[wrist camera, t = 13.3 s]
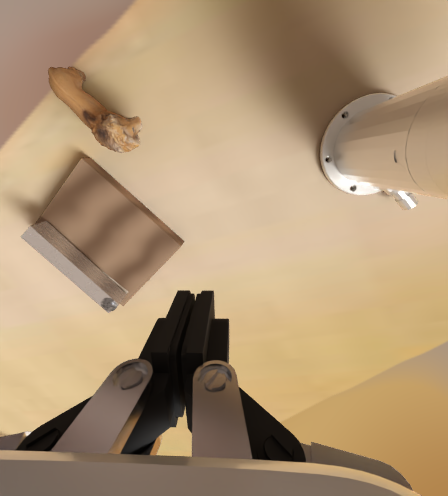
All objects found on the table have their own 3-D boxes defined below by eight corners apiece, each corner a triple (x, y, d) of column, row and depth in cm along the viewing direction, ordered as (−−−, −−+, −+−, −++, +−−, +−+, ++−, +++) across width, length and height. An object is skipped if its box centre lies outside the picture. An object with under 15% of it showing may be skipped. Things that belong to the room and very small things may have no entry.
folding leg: (127, 295, 39) (119, 305, 37) (118, 303, 40) (109, 313, 37) (46, 220, 36) (30, 225, 33) (37, 231, 36) (20, 236, 34)
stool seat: (184, 241, 39) (181, 246, 37) (129, 298, 43) (123, 306, 41) (91, 158, 35) (81, 158, 33) (40, 229, 39) (28, 233, 37)
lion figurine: (164, 131, 34) (140, 120, 25) (145, 164, 35) (117, 164, 27) (66, 59, 31) (4, 20, 23) (51, 97, 33) (-12, 75, 24)
